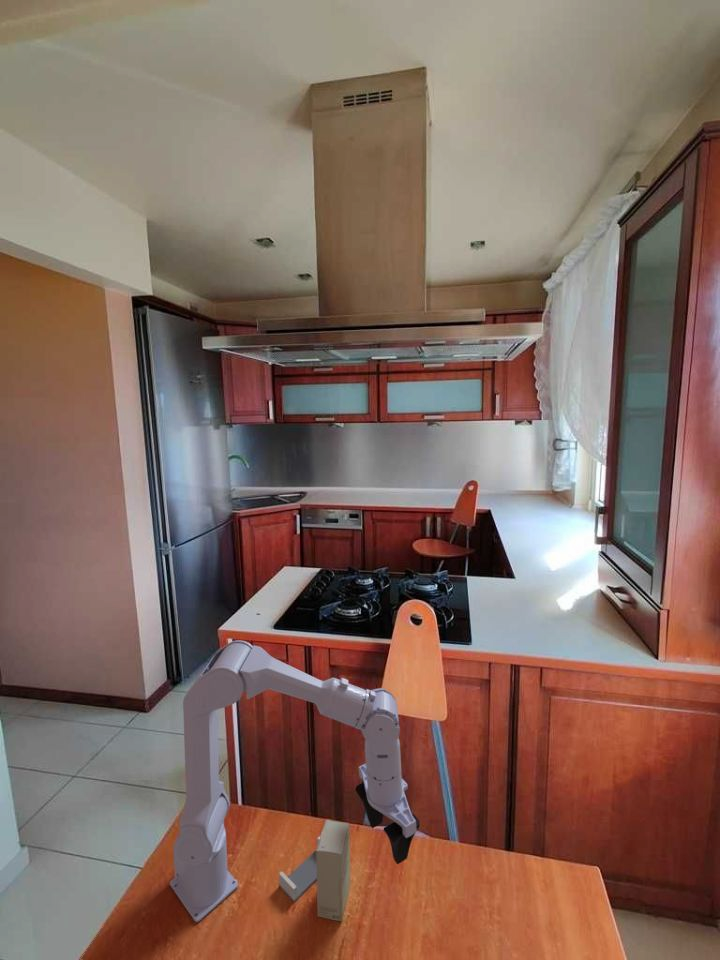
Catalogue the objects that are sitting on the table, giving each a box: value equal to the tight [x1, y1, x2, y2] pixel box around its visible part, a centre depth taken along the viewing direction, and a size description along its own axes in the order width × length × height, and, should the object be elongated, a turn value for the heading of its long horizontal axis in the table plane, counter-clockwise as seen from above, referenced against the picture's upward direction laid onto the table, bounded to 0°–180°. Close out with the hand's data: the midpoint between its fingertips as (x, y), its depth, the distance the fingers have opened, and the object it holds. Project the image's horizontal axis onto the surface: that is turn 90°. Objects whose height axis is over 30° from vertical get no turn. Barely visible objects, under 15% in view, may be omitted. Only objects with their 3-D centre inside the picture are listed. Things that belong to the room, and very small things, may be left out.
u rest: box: [278, 835, 321, 903], centre depth 81 cm, size 4×10×3 cm, turn 138°
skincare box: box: [315, 818, 351, 922], centre depth 76 cm, size 6×4×12 cm
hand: (388, 841), depth 76 cm, fingers open, 7 cm apart
